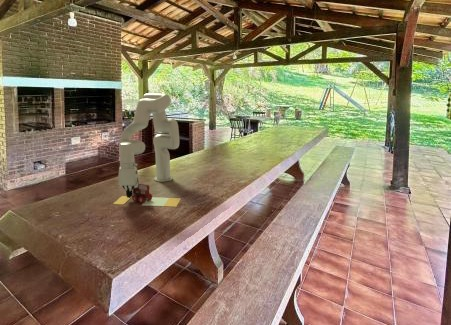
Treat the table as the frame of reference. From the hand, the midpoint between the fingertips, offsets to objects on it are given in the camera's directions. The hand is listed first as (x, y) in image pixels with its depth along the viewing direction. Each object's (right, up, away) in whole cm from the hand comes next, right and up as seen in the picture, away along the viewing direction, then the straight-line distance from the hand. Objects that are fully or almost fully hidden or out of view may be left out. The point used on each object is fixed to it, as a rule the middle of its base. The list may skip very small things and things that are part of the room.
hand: (129, 196), depth 162 cm
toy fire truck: (+7, -2, +1) cm, 7 cm away
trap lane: (+10, -3, 0) cm, 11 cm away
